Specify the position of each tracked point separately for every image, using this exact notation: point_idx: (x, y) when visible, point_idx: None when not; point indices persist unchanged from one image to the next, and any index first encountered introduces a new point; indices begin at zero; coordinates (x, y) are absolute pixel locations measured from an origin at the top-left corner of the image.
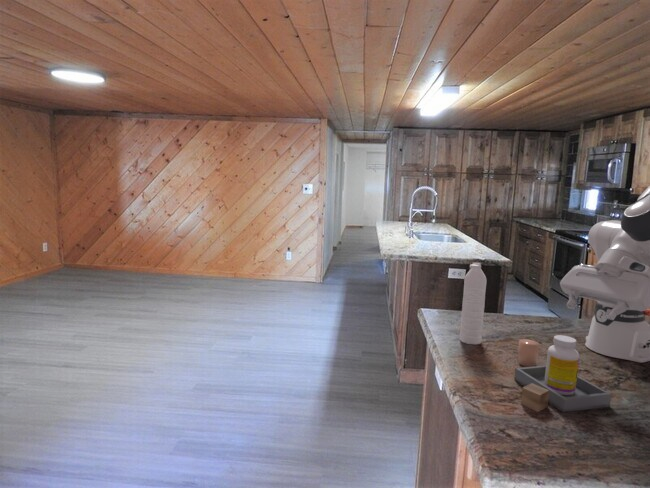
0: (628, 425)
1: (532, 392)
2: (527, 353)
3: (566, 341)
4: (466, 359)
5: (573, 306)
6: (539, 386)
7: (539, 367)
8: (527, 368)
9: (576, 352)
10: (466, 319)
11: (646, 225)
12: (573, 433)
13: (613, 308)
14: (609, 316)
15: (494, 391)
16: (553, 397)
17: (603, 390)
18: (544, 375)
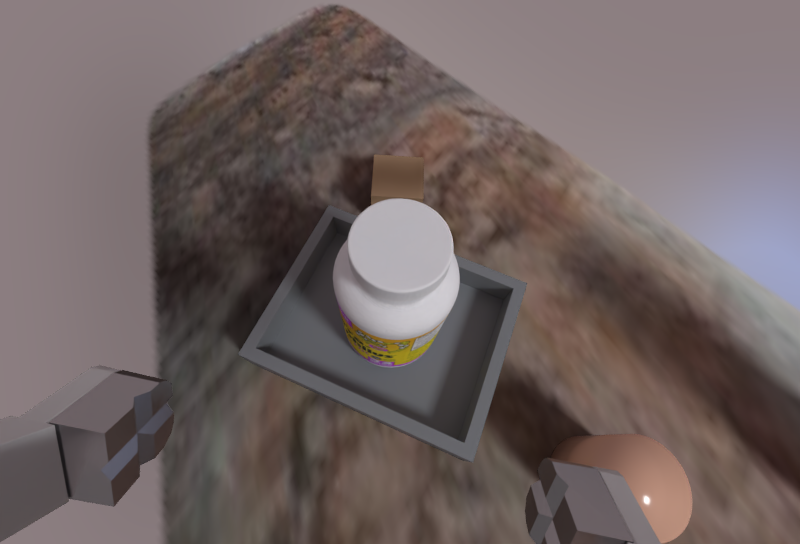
0: (191, 290)
1: (394, 156)
2: (594, 438)
3: (377, 207)
4: (689, 307)
5: (545, 507)
6: (399, 196)
7: (490, 362)
8: (506, 315)
9: (343, 272)
10: None
11: None
12: (284, 161)
13: (13, 436)
14: (119, 370)
15: (493, 193)
16: None
17: (264, 359)
18: (473, 392)
